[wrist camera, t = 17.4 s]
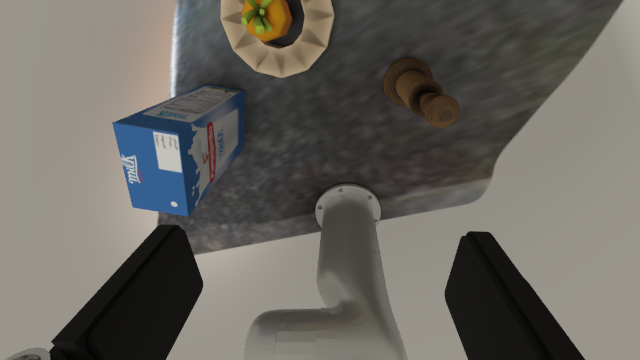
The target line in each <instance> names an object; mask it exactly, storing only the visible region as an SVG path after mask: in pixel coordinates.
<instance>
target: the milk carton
mask: <svg viewBox="0 0 640 360" xmlns="http://www.w3.org/2000/svg"><path fill="white" fill-rule="evenodd" d="M244 101H245V91H243V90H237V89H231V88H225V87H220V86H214V85H208V84H205V85H202V86H200V87H197V88H195V89H193V90H190V91H188V92H185V93H183V94H181V95H178V96H176V97H174V98H171V99H169V100H166V101H164V102H162V103H159V104H157V105H155V106H152V107H150V108H147V109H145V110H142V111H140V112H138V113H135V114H133V115H130V116H128V117H126V118H123V119H121V120H119V121H116V122H113V127H114V131H115V135H116V140H117V144H118V148H119V152H120V156H121V160H122V165H123V169H124V173H125V177H126V181H127V185H128V189H129V193H130V198H131V202H132V206H133V207H134V208H140V209H147V210H152V211H158V212H164V213H170V214H176V215H182V216H189V215H190V213H191V212H192V211H193V210H194V208H195V207H196V206H197V205H198V203H199V202H200V201H201V200H202V199H203V197H204V196H205V195H206V194H207V192H208V191H209V190H210V189H211V187H212V186H213V185H214V184H215V182H216V181H217V180H218V179H219V178H220V176H221V175H222V174H223V173H224V171H225V170H226V169H227V168H228V166H229V165H230V164H231V163H232V161H233V160H234V159H235V158H236V157H237V155H238V154H239V153H240V152H241V150H242V149H243V148H244Z"/></svg>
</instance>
